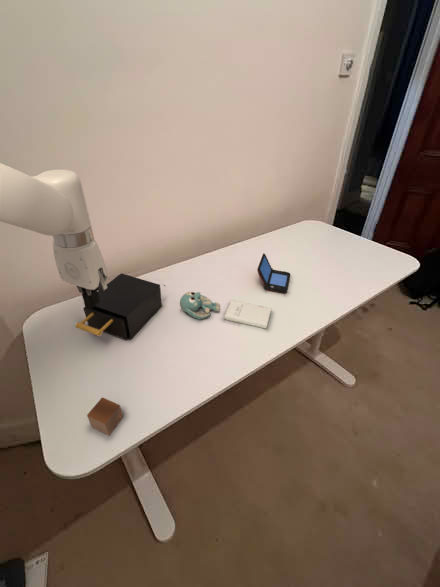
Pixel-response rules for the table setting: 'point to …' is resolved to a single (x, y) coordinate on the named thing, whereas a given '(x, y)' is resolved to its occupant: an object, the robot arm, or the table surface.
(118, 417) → the block
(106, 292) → the cabinet
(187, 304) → the stuffed animal
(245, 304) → the hard drive
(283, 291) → the handheld console
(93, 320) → the drawer
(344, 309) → the table surface
